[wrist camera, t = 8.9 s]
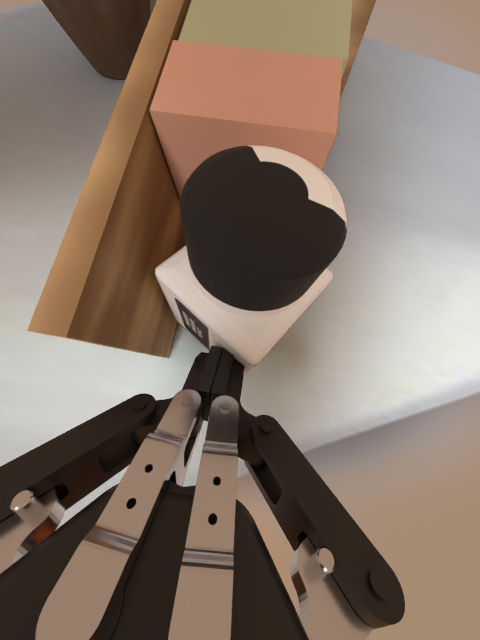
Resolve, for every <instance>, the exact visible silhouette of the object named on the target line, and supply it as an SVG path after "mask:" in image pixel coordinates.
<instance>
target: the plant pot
mask: <svg viewBox="0 0 480 640" xmlns="http://www.w3.org/2000/svg"><path fill="white" fill-rule="evenodd" d="M42 1H43V2H44V4H45V5H46V7H47V8H48V9H49V11H50V12H51V13H52V15H53V16H54V17H55V19H56V20H57V21H58V23H59V24H60V25H61V27H62V28H63V29H64V31H65V32H66V33H67V34H68V36H69V37H70V38H71V40H72V41H73V42H74V43H75V45H76V46H77V47H78V49H79V50H80V51H81V52H82V54H83V55H84V56H85V57H86V59H87V60H88V61H89V62H90V64H91V65H92V66H93V67H94V68H95V70H96V71H97V72H98V73H100V74H101V75H103V76H106V77H109V78H113V79H124V78H127V75H128V73H129V70H130V68H131V65H132V62H133V60H134V57H135V55H136V52H137V50H138V47H139V45H140V42H141V40H142V37H143V34H144V32H145V29H146V27H147V24H148V22H149V19H150V0H42Z"/></svg>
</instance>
